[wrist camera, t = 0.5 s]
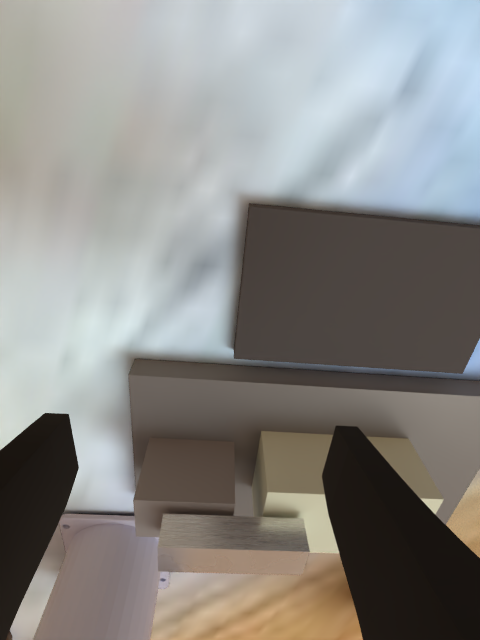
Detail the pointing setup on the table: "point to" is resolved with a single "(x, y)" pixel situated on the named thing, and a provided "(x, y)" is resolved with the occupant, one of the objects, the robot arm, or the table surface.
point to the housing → (281, 429)
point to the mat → (358, 290)
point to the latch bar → (232, 544)
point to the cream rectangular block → (306, 480)
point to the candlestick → (9, 636)
